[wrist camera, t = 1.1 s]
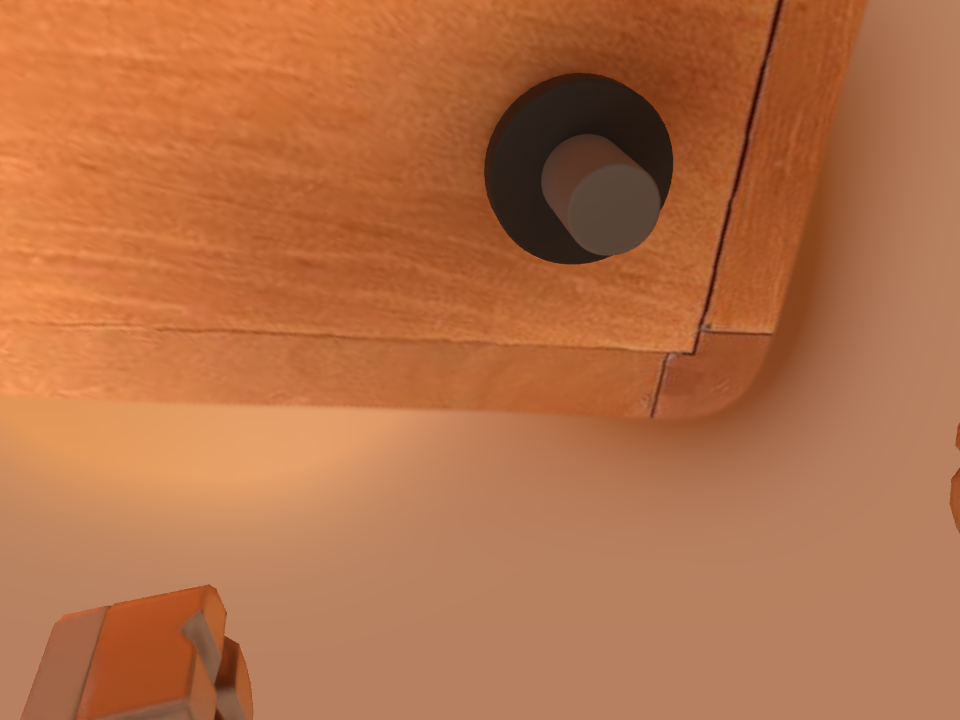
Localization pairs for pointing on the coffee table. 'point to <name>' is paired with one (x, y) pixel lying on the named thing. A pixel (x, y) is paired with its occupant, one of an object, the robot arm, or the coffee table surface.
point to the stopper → (579, 169)
